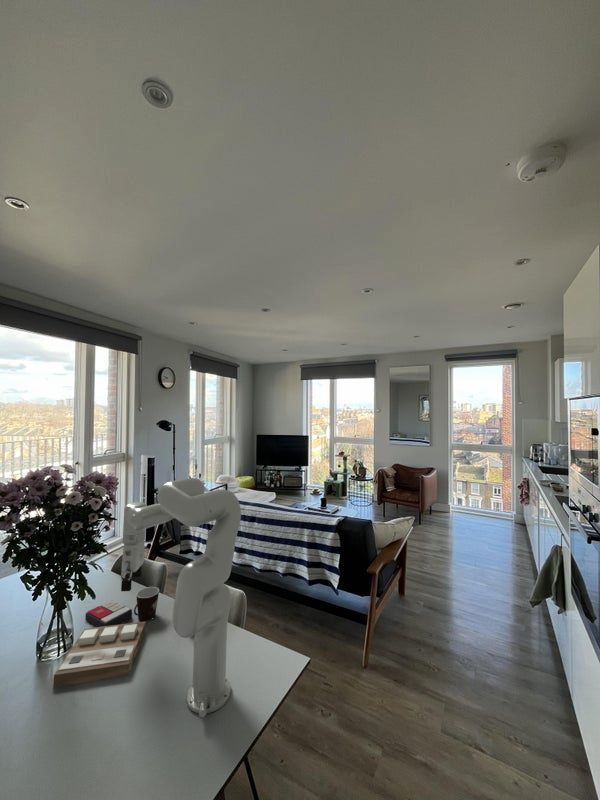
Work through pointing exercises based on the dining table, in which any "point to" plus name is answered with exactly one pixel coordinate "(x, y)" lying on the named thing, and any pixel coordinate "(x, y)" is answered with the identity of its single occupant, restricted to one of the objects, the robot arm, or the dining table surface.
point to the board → (99, 658)
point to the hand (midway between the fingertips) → (131, 583)
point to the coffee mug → (146, 603)
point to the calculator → (109, 614)
